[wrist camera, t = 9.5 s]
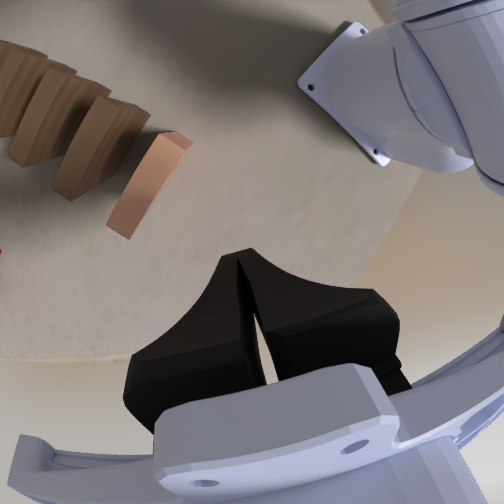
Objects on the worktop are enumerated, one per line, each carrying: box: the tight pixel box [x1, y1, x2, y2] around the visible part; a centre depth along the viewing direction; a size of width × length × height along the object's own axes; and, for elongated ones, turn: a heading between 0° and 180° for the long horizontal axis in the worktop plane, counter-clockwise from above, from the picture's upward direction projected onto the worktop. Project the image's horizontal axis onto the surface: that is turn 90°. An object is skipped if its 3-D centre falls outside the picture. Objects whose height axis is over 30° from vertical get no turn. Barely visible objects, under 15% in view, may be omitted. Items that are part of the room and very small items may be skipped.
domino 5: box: [106, 131, 193, 239], centre depth 15 cm, size 1×5×7 cm, turn 142°
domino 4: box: [51, 95, 151, 202], centre depth 13 cm, size 1×5×7 cm, turn 142°
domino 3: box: [8, 68, 111, 168], centre depth 12 cm, size 1×5×7 cm, turn 142°
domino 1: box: [0, 40, 48, 71], centre depth 9 cm, size 1×5×7 cm, turn 142°
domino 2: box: [0, 49, 77, 137], centre depth 11 cm, size 1×5×7 cm, turn 142°
